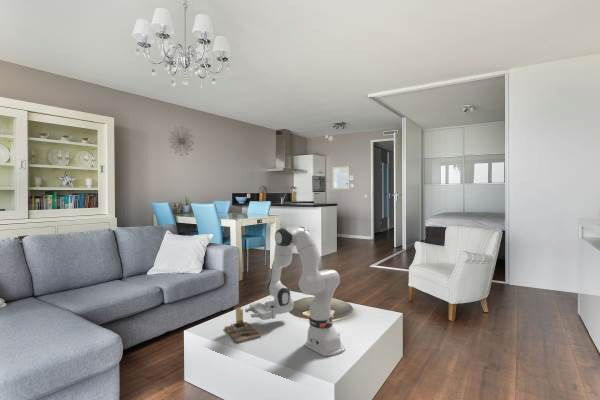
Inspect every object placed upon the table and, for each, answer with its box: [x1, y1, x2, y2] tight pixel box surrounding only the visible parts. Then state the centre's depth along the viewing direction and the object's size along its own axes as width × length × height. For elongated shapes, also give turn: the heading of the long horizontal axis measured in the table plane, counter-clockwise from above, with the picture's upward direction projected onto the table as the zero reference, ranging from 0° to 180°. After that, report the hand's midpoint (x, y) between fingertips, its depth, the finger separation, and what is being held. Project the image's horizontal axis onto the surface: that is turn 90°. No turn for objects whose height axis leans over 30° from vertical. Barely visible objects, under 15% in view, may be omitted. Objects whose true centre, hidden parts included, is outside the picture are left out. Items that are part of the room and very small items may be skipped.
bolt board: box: [224, 321, 261, 344], centre depth 197 cm, size 22×14×3 cm, turn 30°
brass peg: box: [235, 306, 244, 328], centre depth 200 cm, size 4×4×12 cm
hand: (248, 313), depth 202 cm, fingers open, 8 cm apart
